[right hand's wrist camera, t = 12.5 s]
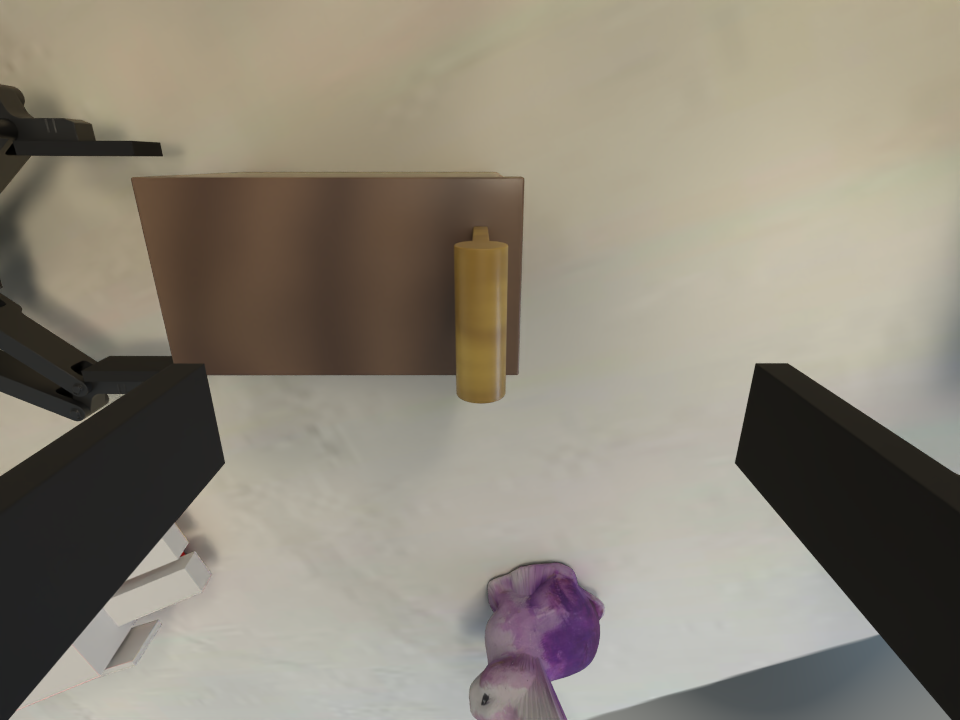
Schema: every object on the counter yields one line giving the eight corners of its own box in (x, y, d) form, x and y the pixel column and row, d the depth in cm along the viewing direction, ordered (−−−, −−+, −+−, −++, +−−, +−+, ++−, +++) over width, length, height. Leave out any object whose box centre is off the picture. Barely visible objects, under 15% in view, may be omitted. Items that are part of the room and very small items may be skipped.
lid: (522, 176, 25) (544, 184, 17) (517, 366, 29) (532, 451, 21) (145, 176, 25) (-21, 184, 17) (187, 367, 29) (68, 451, 20)
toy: (198, 662, 39) (-168, 812, 39) (250, 547, 52) (-27, 661, 52) (103, 541, 35) (-307, 708, 35) (184, 449, 48) (-116, 571, 48)
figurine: (460, 600, 49) (453, 774, 35) (536, 537, 47) (561, 698, 33) (530, 649, 52) (549, 830, 38) (606, 592, 49) (657, 764, 35)
